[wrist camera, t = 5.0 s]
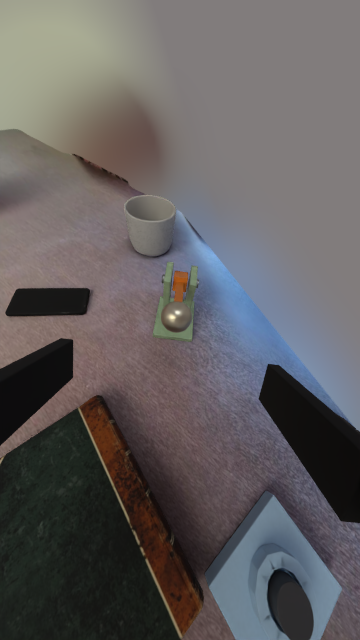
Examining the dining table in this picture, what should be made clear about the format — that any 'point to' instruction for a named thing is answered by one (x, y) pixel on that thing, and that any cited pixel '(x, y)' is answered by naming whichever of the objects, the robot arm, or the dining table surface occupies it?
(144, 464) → the dining table surface
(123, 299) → the dining table surface
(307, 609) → the button
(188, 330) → the switch bracket
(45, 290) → the smartphone
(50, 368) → the robot arm
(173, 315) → the switch lever
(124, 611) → the book
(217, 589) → the button housing
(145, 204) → the planter
